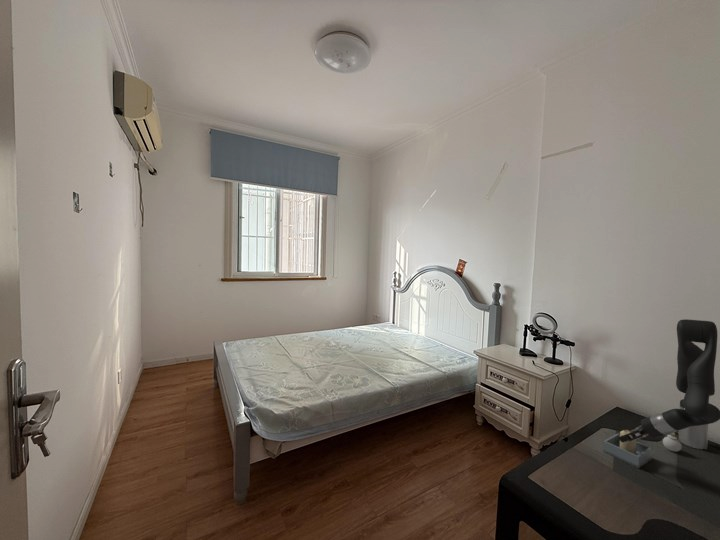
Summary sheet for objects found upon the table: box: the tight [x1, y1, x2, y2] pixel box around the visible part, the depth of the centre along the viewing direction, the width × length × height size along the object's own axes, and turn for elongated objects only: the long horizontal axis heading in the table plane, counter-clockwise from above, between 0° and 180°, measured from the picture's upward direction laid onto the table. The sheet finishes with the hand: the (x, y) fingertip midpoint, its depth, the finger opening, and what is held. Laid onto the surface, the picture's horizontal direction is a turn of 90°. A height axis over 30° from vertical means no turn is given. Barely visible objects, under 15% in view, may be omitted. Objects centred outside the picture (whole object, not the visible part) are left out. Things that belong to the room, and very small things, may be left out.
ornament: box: [662, 431, 685, 453], centre depth 136 cm, size 6×7×10 cm
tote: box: [602, 433, 653, 469], centre depth 133 cm, size 14×13×5 cm
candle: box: [619, 429, 638, 455], centre depth 133 cm, size 6×6×10 cm
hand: (624, 437), depth 133 cm, fingers open, 8 cm apart
